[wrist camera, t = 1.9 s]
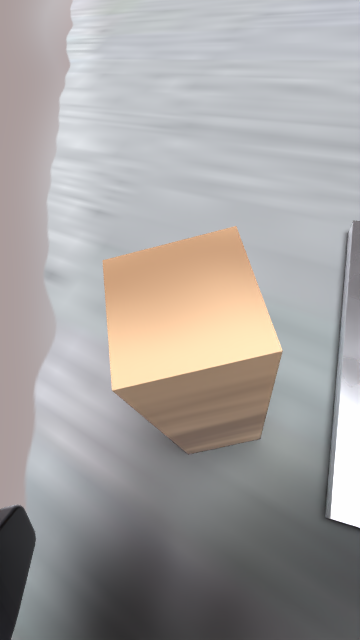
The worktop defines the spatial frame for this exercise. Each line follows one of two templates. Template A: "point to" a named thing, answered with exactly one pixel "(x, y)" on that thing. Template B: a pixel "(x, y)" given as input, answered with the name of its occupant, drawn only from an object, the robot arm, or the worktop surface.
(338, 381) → the square socket
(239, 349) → the tan square block
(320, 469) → the worktop surface
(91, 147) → the worktop surface
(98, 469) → the worktop surface
